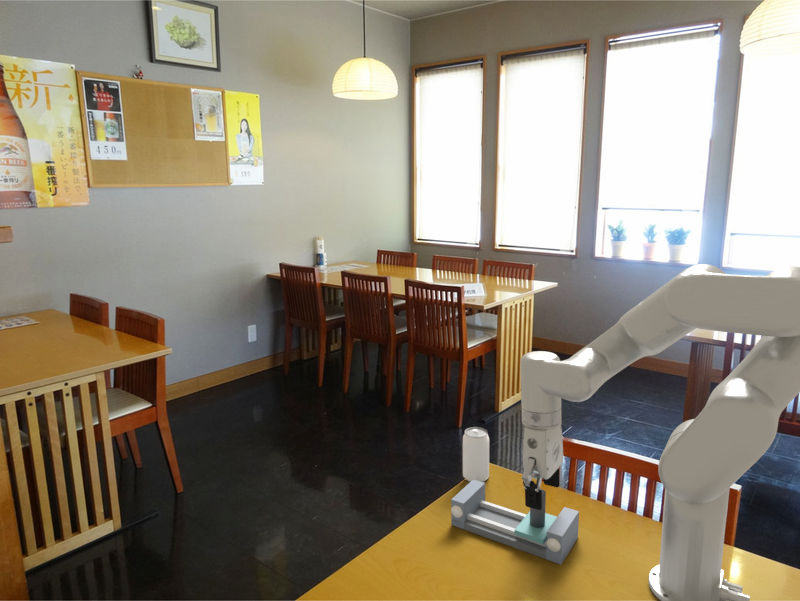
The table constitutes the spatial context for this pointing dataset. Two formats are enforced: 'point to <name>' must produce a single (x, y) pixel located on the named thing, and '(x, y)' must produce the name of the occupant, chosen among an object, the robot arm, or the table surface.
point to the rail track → (511, 524)
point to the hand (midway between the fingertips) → (543, 496)
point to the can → (476, 454)
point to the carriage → (536, 523)
